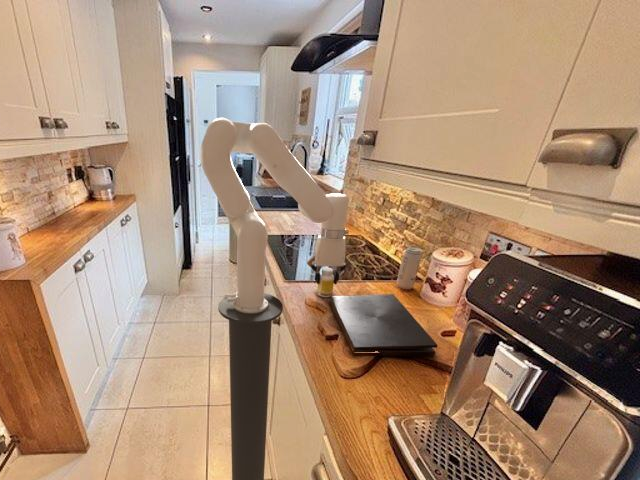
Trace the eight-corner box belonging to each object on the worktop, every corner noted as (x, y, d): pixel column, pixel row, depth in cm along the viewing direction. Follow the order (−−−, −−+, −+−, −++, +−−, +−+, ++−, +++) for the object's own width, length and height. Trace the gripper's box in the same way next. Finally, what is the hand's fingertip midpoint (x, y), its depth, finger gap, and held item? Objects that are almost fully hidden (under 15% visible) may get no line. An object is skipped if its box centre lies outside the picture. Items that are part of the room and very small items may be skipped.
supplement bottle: (335, 295, 118) (338, 270, 114) (324, 298, 116) (327, 273, 111) (324, 290, 122) (328, 265, 118) (313, 293, 120) (316, 268, 115)
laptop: (391, 304, 112) (392, 299, 111) (434, 357, 85) (436, 351, 84) (329, 303, 113) (330, 298, 112) (353, 355, 86) (354, 349, 85)
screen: (393, 296, 110) (393, 294, 110) (437, 347, 84) (437, 345, 83) (330, 298, 112) (330, 296, 111) (354, 350, 85) (354, 347, 85)
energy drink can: (412, 291, 121) (423, 252, 114) (395, 288, 124) (404, 250, 117) (413, 285, 126) (423, 247, 119) (396, 282, 128) (405, 245, 122)
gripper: (355, 230, 112) (347, 278, 120) (305, 229, 112) (300, 278, 120) (361, 236, 105) (352, 287, 113) (308, 235, 106) (303, 286, 114)
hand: (326, 282), depth 117 cm, fingers closed on supplement bottle, 5 cm apart
